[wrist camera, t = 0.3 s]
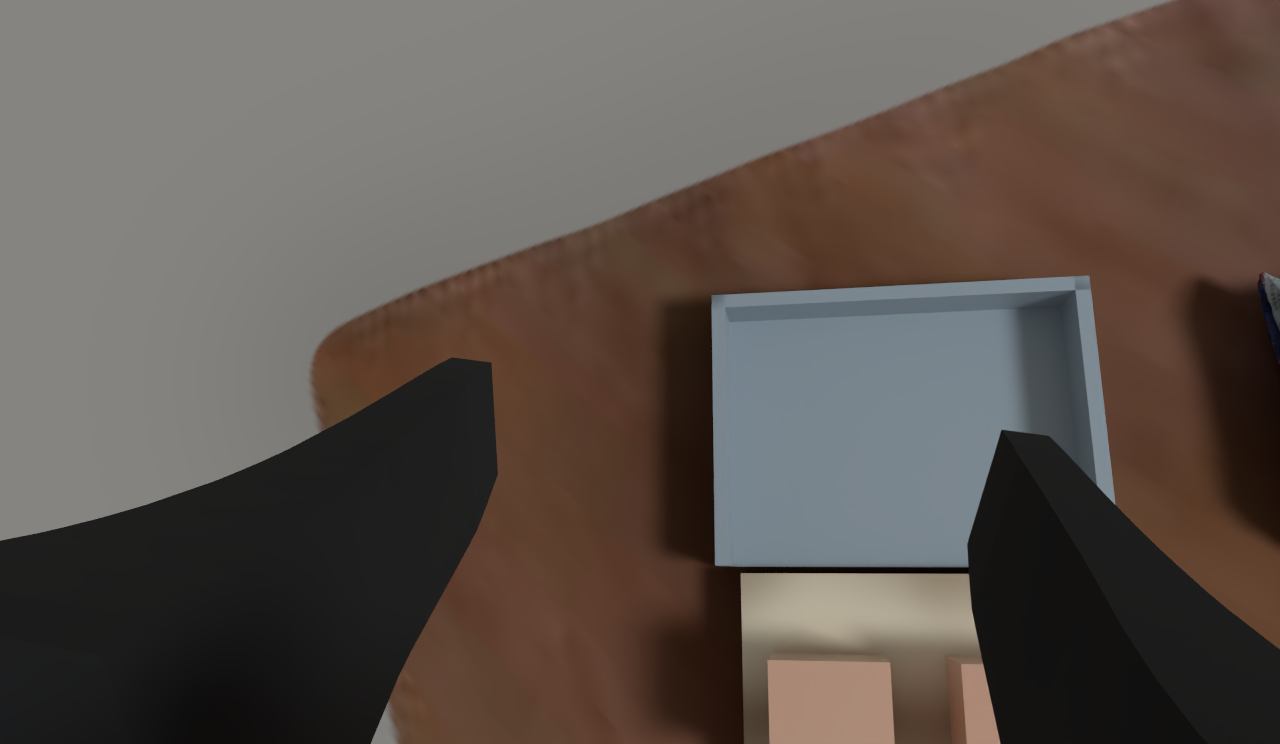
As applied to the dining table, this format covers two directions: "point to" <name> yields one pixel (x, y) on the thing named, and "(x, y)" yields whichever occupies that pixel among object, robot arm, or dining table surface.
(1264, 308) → the grey green pillow
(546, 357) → the dining table surface
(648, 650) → the dining table surface
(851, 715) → the wooden cube
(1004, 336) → the tray
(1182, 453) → the dining table surface
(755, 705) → the board
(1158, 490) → the dining table surface
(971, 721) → the wooden cube
